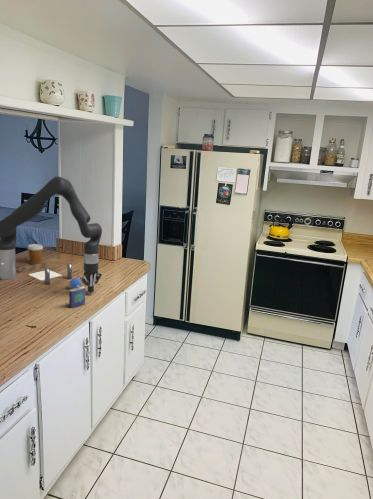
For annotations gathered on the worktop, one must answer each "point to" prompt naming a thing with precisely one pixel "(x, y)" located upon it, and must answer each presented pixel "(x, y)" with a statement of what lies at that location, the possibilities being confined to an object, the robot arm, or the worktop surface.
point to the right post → (69, 271)
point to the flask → (76, 297)
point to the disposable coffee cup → (35, 253)
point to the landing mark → (42, 275)
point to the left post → (47, 276)
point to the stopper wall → (32, 267)
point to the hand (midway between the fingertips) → (90, 292)
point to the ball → (75, 283)
